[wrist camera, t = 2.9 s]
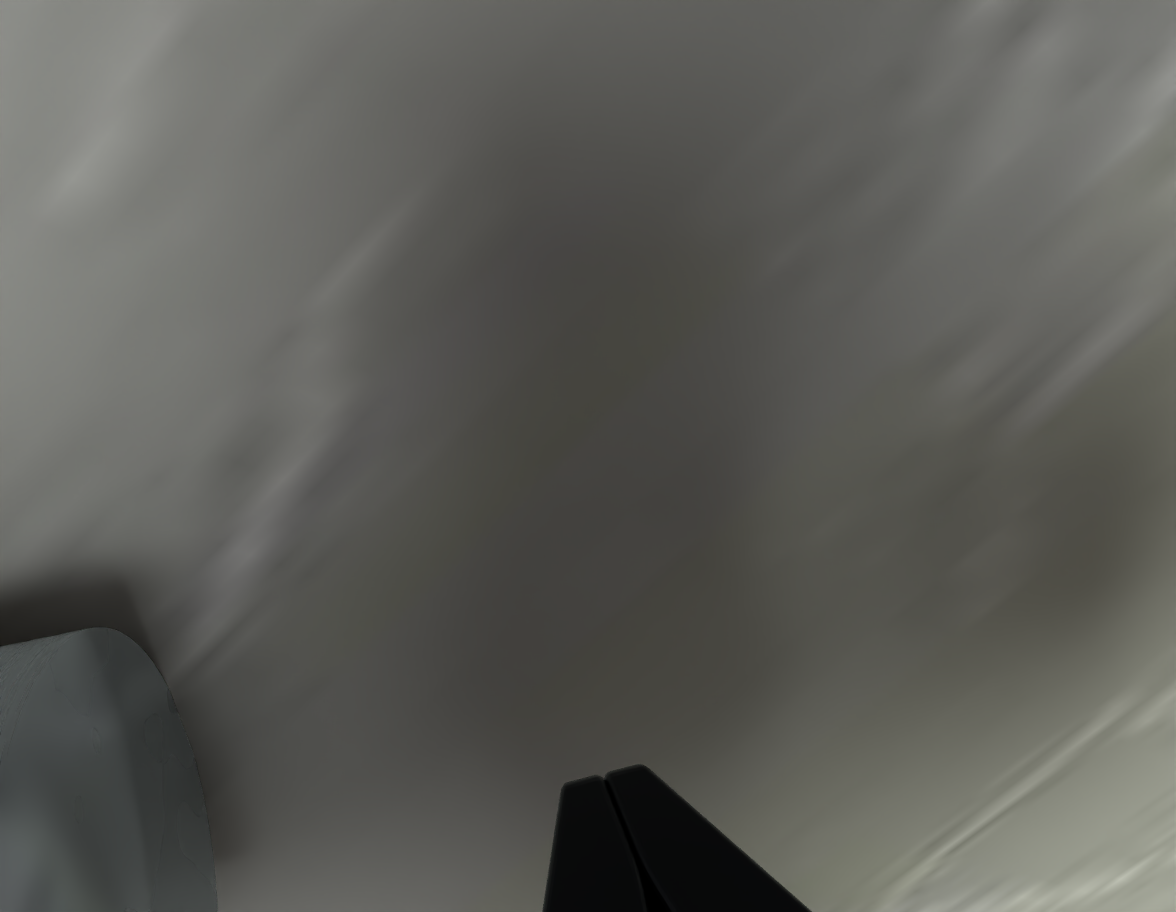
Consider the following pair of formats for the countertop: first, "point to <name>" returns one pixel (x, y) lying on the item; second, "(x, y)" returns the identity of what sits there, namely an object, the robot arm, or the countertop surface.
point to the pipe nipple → (97, 783)
